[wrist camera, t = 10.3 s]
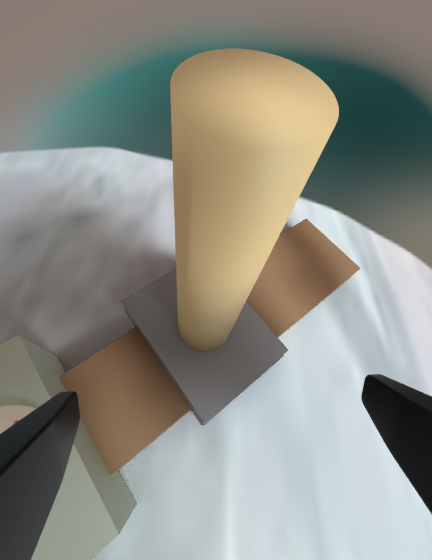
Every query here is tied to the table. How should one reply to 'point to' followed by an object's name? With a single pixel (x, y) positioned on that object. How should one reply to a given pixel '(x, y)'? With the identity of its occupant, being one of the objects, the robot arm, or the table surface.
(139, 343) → the rail
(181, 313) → the grey block with handle
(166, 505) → the table surface
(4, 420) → the gauge cabinet
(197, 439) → the table surface
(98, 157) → the table surface
